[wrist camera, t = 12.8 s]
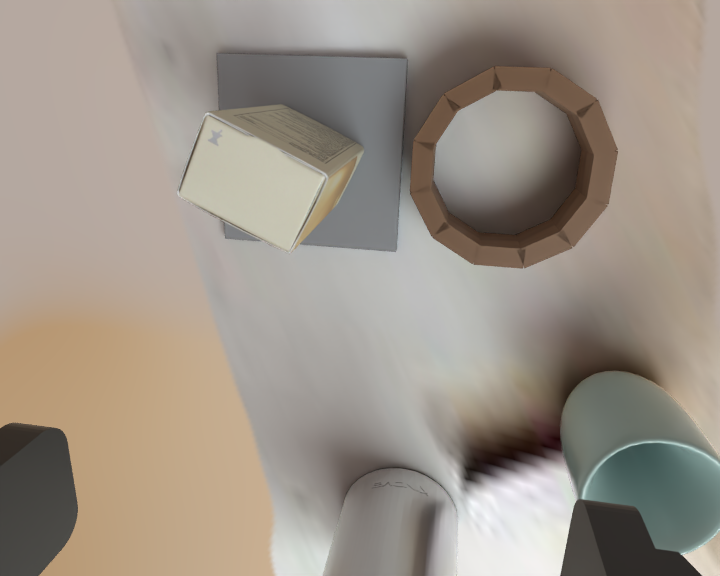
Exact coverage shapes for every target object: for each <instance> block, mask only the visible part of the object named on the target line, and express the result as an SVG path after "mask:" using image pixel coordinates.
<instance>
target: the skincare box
mask: <svg viewBox="0 0 720 576" xmlns="http://www.w3.org/2000/svg"><path fill="white" fill-rule="evenodd" d="M363 153H364V148H363V147H362V146H361V145H359V144H358V143H356V142H354V141H352V140H351V139H349V138H347V137H345V136H343V135H342V134H340V133H338V132H336V131H334V130H332V129H331V128H329V127H327V126H325V125H323V124H321V123H319V122H317V121H315V120H313V119H311V118H309V117H307V116H305V115H303V114H301V113H299V112H297V111H295V110H293V109H291V108H289V107H287V106H285V105H282V104H279V105H269V106H260V107H249V108H239V109H228V110H219V111H208V112H206V113H205V115H204V118H203V120H202V123H201V125H200V128H199V130H198V133H197V136H196V138H195V141H194V143H193V146H192V149H191V151H190V154H189V157H188V159H187V162H186V165H185V168H184V171H183V174H182V177H181V181H180V184H179V187H178V190H177V195H178V196H179V197H180V198H182V199H183V200H185V201H187V202H188V203H190V204H192V205H194V206H195V207H197V208H199V209H201V210H202V211H204V212H206V213H208V214H210V215H211V216H213V217H215V218H217V219H219V220H221V221H223V222H225V223H227V224H229V225H231V226H233V227H235V228H237V229H239V230H241V231H243V232H245V233H247V234H249V235H251V236H253V237H255V238H257V239H259V240H261V241H263V242H265V243H267V244H269V245H271V246H273V247H276V248H278V249H280V250H282V251H284V252H286V253H289V254H290V253H291V252H293V250H294V249H295V248H296V247H297V246H298V245H299V244H300V243H301V242H302V241H303V240H304V239H305V238H306V237H307V236H308V235H309V234H310V233H311V231H312V230H313V229H314V228H315V227H316V226H317V225H318V224H319V223H320V222H321V221H322V220H323V219H324V218H325V217H326V216H327V215H328V214H329V212H330V211H331V210H332V209H333V208H334V207H335V206H336V205H337V204H338V202H339V200H340V199H341V197H342V195H343V193H344V191H345V189H346V187H347V185H348V183H349V181H350V179H351V178H352V176H353V174H354V172H355V170H356V167H357V165H358V163H359V161H360V159H361V157H362V155H363Z"/></svg>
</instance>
